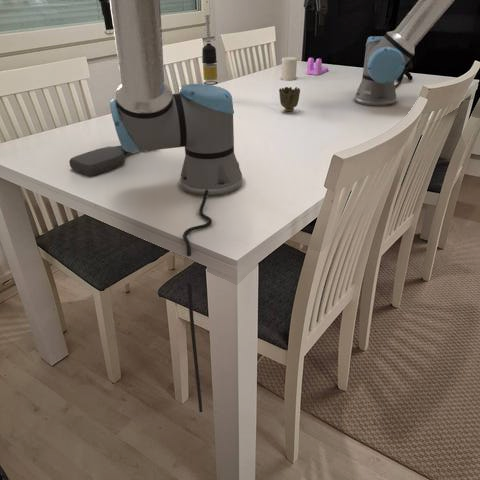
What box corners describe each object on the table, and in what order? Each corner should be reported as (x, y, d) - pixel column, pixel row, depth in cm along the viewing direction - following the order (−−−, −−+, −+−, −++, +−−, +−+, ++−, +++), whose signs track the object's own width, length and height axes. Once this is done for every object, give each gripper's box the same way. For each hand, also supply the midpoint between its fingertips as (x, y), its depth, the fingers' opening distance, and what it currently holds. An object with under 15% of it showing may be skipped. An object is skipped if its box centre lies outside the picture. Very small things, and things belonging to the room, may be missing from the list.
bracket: (317, 75, 212) (318, 59, 208) (306, 73, 215) (307, 58, 211) (329, 70, 221) (331, 55, 217) (319, 69, 223) (320, 54, 220)
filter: (220, 99, 177) (217, 15, 161) (206, 100, 176) (202, 16, 160) (215, 96, 182) (212, 14, 166) (202, 97, 180) (197, 14, 164)
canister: (297, 79, 205) (299, 59, 200) (283, 80, 204) (284, 60, 199) (293, 76, 211) (294, 56, 206) (279, 77, 209) (280, 57, 205)
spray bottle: (67, 168, 120) (139, 144, 136) (91, 178, 114) (163, 151, 130) (65, 157, 118) (137, 134, 134) (89, 167, 112) (162, 142, 128)
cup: (275, 113, 160) (275, 90, 156) (283, 107, 165) (284, 85, 161) (294, 115, 157) (295, 92, 153) (302, 110, 162) (303, 87, 158)
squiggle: (400, 92, 202) (376, 71, 205) (417, 76, 202) (392, 56, 205) (405, 81, 191) (380, 59, 194) (423, 64, 191) (397, 42, 194)
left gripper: (163, -69, 102) (172, 32, 114) (93, -64, 115) (107, 26, 126) (139, -70, 97) (151, 36, 108) (68, -65, 110) (85, 29, 121)
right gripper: (296, -40, 150) (294, 29, 161) (317, -41, 129) (312, 39, 140) (318, -41, 151) (314, 28, 162) (342, -42, 130) (335, 37, 141)
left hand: (128, 31), depth 117 cm, fingers open, 13 cm apart
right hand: (313, 33), depth 151 cm, fingers open, 13 cm apart
